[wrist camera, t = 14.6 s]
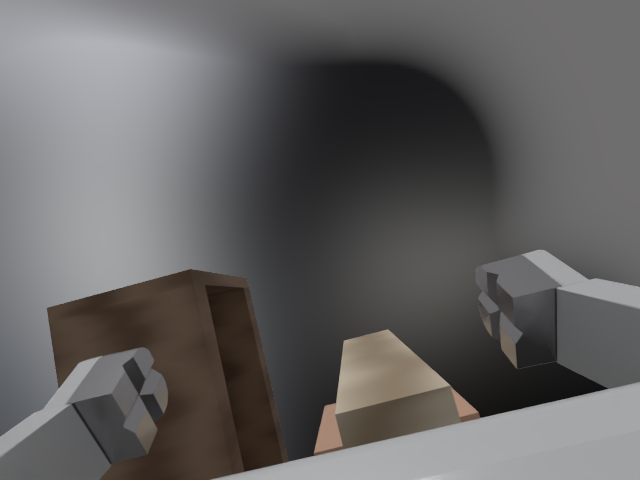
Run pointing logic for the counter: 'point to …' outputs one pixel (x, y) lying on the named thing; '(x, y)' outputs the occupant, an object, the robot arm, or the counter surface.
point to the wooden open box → (184, 371)
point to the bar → (388, 392)
